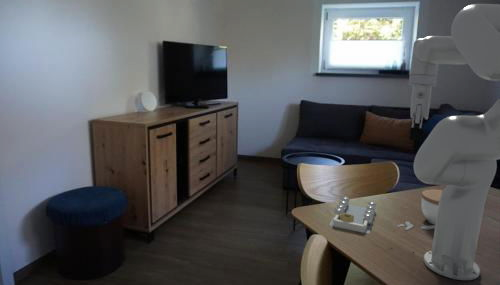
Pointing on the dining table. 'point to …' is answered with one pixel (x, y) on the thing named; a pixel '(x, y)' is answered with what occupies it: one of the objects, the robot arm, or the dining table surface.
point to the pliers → (412, 226)
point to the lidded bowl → (430, 204)
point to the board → (357, 222)
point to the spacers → (367, 215)
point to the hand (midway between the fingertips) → (414, 140)
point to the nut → (347, 217)
